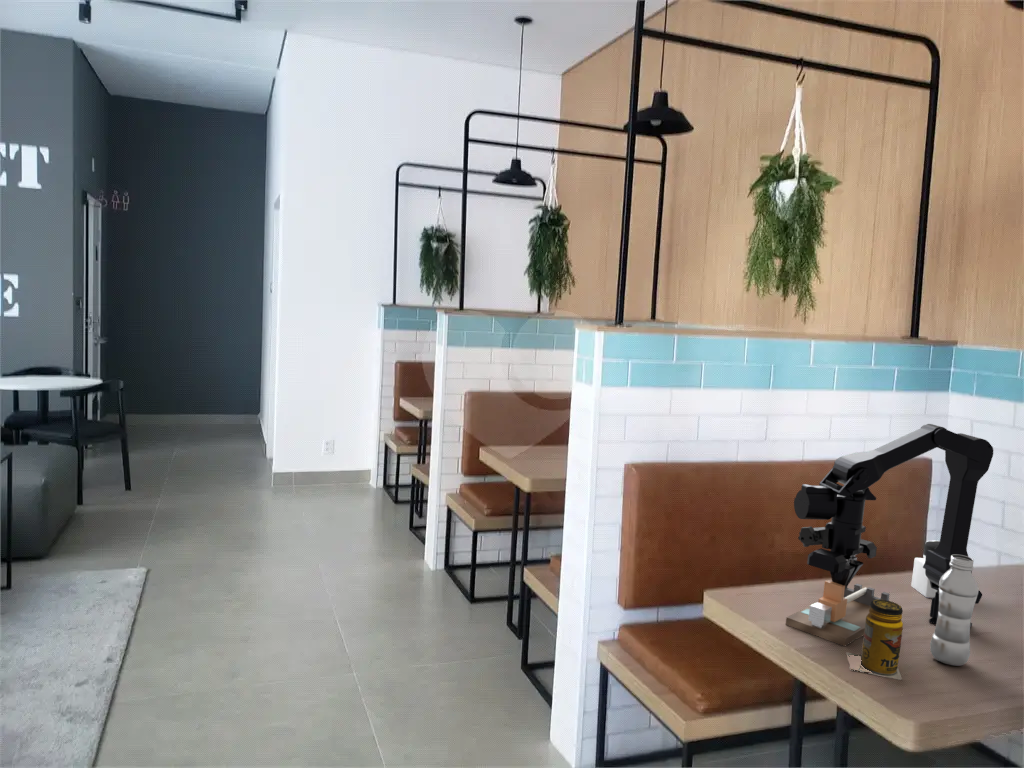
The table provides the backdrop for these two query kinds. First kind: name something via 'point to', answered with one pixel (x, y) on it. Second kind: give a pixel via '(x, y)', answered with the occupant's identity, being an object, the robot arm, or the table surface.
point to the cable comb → (866, 597)
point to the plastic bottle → (955, 612)
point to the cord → (856, 595)
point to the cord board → (834, 624)
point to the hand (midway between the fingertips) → (838, 594)
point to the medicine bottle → (923, 572)
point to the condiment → (882, 639)
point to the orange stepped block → (834, 599)
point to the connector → (819, 615)
